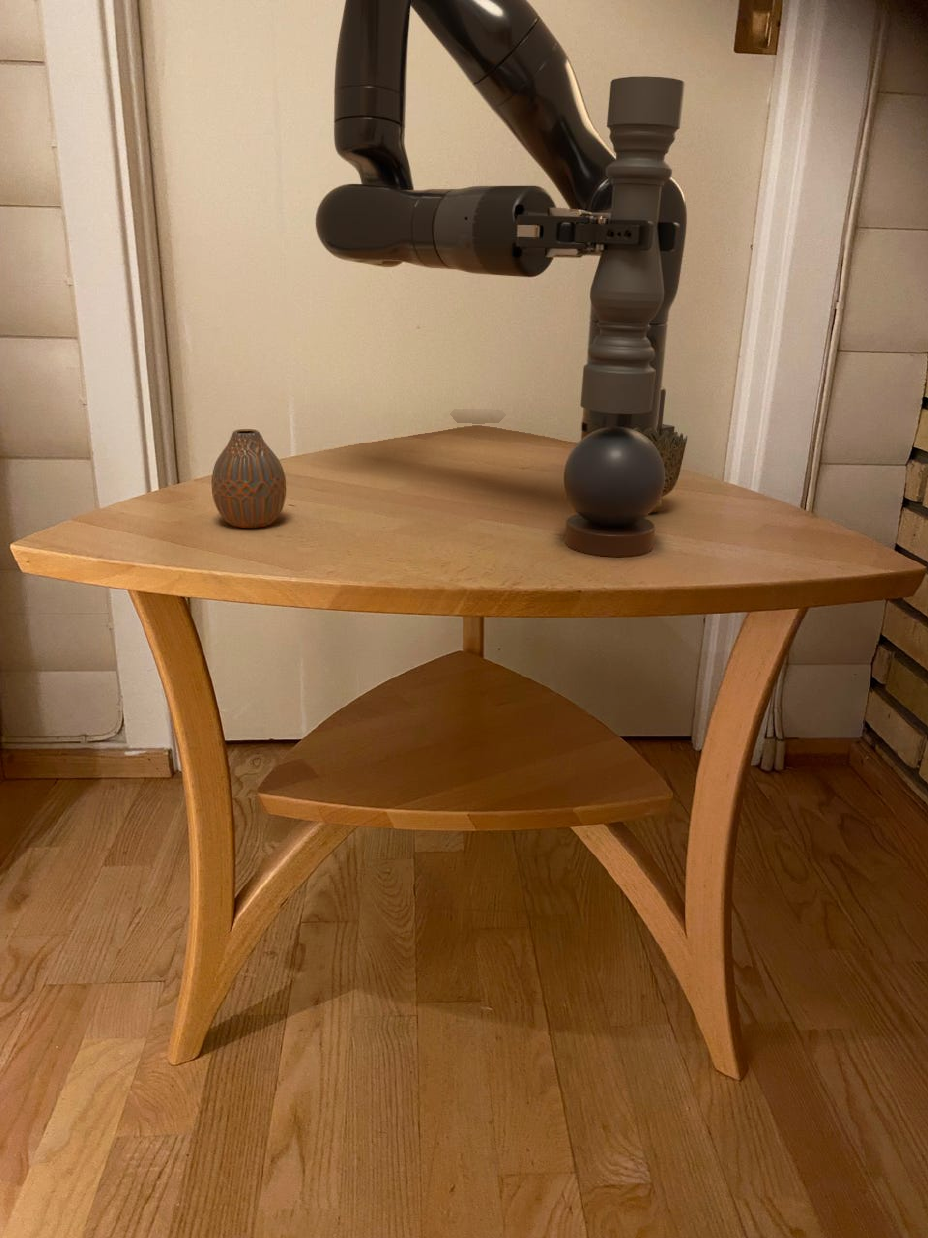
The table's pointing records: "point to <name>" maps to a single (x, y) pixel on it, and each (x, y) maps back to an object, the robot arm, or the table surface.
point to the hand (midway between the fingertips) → (663, 236)
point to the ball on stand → (613, 492)
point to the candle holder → (631, 277)
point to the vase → (248, 481)
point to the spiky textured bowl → (667, 456)
